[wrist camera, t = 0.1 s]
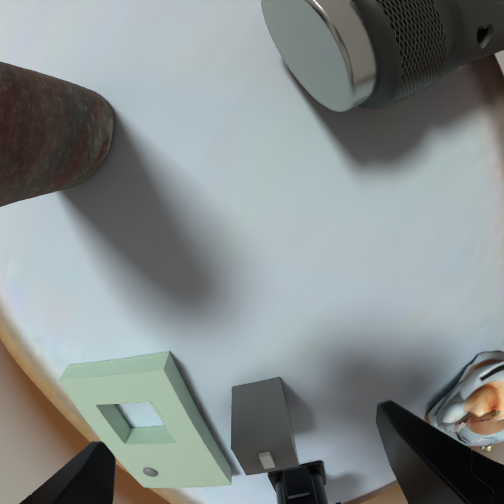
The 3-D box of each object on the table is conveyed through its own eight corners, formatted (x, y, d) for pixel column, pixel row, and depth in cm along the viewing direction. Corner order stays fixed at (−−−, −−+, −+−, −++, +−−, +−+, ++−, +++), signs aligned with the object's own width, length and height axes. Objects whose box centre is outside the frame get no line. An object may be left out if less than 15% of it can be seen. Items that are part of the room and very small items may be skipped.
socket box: (231, 468, 28) (231, 486, 26) (147, 472, 29) (143, 489, 26) (169, 351, 23) (162, 371, 21) (69, 364, 24) (57, 381, 21)
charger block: (288, 408, 26) (299, 469, 19) (244, 417, 26) (246, 479, 19) (279, 376, 25) (291, 441, 17) (232, 386, 25) (231, 452, 18)
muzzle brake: (518, 45, 16) (582, 31, 6) (322, 134, 19) (394, 113, 9) (472, -28, 14) (527, -59, 4) (248, 25, 17) (256, -65, 7)
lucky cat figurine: (409, 440, 29) (434, 501, 16) (422, 352, 30) (467, 384, 17) (503, 423, 25) (550, 464, 12) (518, 340, 26) (580, 356, 13)
